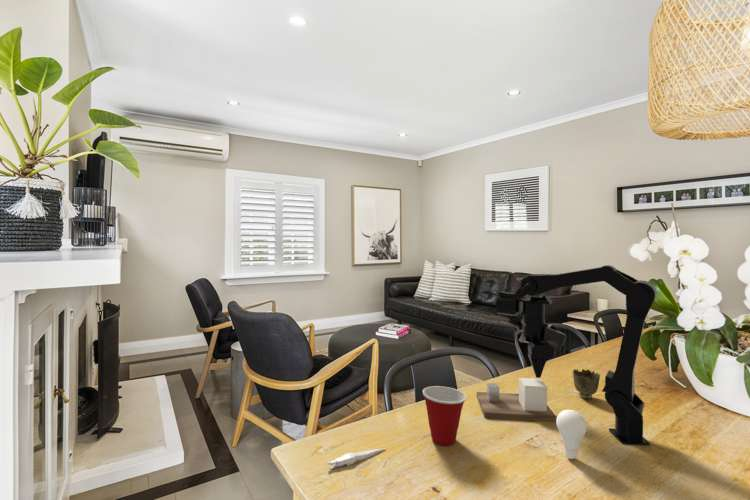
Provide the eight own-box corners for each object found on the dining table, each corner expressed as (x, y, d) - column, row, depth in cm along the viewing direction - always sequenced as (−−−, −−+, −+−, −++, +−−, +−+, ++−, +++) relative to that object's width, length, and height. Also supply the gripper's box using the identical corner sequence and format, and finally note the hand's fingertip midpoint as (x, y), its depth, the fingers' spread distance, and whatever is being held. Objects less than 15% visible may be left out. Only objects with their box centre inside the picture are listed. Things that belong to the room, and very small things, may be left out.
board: (555, 421, 103) (555, 415, 103) (484, 417, 105) (484, 412, 105) (539, 399, 116) (539, 394, 116) (476, 396, 119) (476, 392, 119)
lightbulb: (559, 448, 89) (560, 402, 89) (588, 457, 85) (589, 409, 85) (552, 459, 85) (553, 411, 84) (583, 470, 81) (583, 420, 80)
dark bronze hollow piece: (592, 393, 121) (593, 368, 121) (604, 403, 114) (604, 377, 114) (568, 392, 122) (568, 368, 122) (578, 402, 114) (578, 376, 114)
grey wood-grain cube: (499, 402, 111) (499, 387, 111) (488, 401, 111) (489, 386, 111) (497, 398, 114) (497, 383, 114) (487, 397, 114) (487, 383, 114)
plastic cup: (476, 443, 91) (476, 394, 91) (442, 457, 86) (443, 405, 85) (445, 424, 101) (445, 380, 100) (413, 436, 95) (413, 389, 95)
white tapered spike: (330, 472, 80) (330, 463, 80) (325, 466, 82) (325, 457, 82) (388, 455, 88) (389, 447, 88) (382, 450, 90) (383, 442, 90)
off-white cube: (546, 411, 105) (547, 386, 105) (524, 410, 106) (524, 385, 106) (539, 402, 111) (540, 378, 111) (518, 401, 112) (519, 377, 112)
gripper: (576, 326, 98) (576, 385, 98) (551, 312, 116) (551, 362, 117) (532, 325, 99) (531, 383, 99) (514, 311, 117) (513, 361, 118)
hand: (533, 371), depth 108 cm, fingers open, 9 cm apart
